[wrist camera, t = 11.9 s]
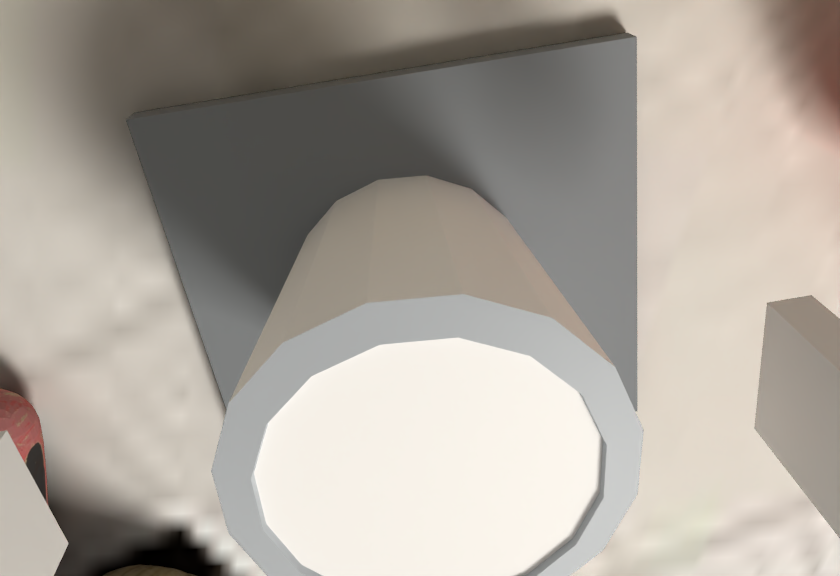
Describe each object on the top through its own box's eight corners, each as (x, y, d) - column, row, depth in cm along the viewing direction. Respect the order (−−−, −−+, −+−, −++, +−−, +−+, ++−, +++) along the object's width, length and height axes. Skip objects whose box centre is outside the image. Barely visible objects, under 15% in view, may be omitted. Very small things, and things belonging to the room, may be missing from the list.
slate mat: (250, 455, 20) (247, 470, 20) (134, 112, 16) (126, 119, 15) (630, 398, 20) (636, 411, 20) (627, 32, 15) (636, 36, 15)
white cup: (274, 132, 15) (205, 277, 9) (578, 164, 16) (704, 318, 10) (267, 389, 19) (212, 625, 12) (522, 406, 19) (591, 637, 13)
